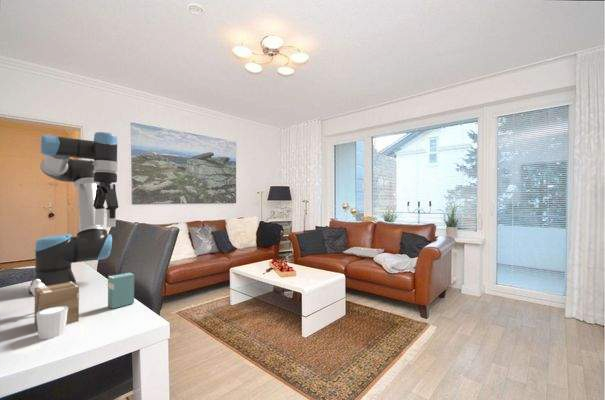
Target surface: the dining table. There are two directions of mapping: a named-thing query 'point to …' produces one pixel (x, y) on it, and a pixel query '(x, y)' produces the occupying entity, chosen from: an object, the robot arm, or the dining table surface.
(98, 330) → the dining table surface
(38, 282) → the figurine
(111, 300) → the block
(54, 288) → the cardboard box
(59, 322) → the shot glass
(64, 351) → the dining table surface
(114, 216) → the robot arm
